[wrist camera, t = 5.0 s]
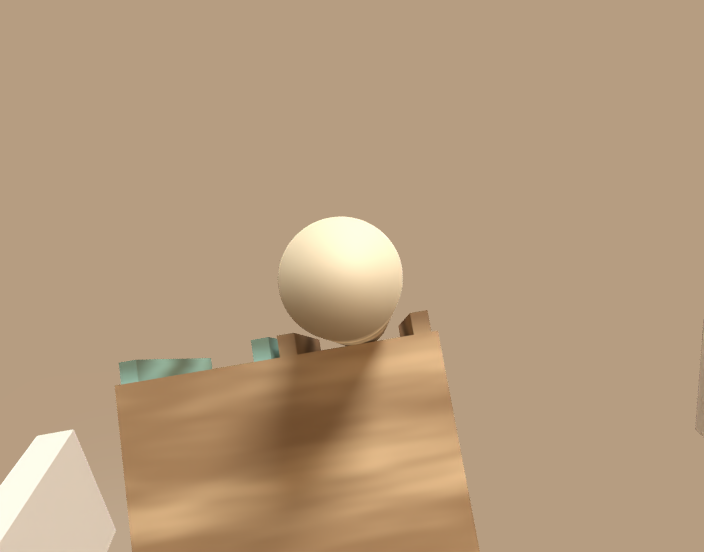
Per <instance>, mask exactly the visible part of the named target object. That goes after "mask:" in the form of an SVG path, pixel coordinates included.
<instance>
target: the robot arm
mask: <svg viewBox="0 0 704 552" xmlns="http://www.w3.org/2000/svg"><path fill="white" fill-rule="evenodd" d="M695 429H696V430H697V431H698V432H699V433H700V434H701V435H702V436H703V437H704V322H703V334H702V348H701V362H700V374H699V389H698V401H697V415H696V428H695ZM115 531H116V529H115V527H114V524H113V522H112V520H111V517H110V515H109V513H108V510H107V508H106V506H105V503H104V500H103V498H102V496H101V493H100V491H99V489H98V486H97V484H96V482H95V479H94V477H93V474H92V472H91V469H90V467H89V465H88V463H87V460H86V458H85V455H84V453H83V450H82V448H81V446H80V443H79V441H78V439H77V436H76V434H75V431H74V430H68V431H62V432H57V433H51V434H46V435H39V436H37V437H36V438H35V439H34V441H33V442H32V443H31V445H30V446H29V448H28V449H27V451H26V452H25V453H24V454H23V456H22V457H21V458H20V460H19V461H18V462H17V464H16V465H15V467H14V468H13V469H12V470H11V472H10V473H9V475H8V476H7V477H6V479H5V480H4V481H3V483H2V484H1V485H0V552H107V550H108V548H109V546H110V543H111V541H112V538H113V536H114V534H115Z"/></svg>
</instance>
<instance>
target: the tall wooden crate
mask: <svg viewBox="0 0 704 552" xmlns="http://www.w3.org/2000/svg"><path fill="white" fill-rule="evenodd" d="M399 332H400V337H398V338H392V339H386V340H380V341H374V342H368V343H363V344H357V345H351V346H345V347H339V348H333V349H327V350H322V351H321V349H320V342H319V340H318V339H314V338H311V337H307V336H303V335H300V334H296V333H291V334H285V335H279V336H277V339H275V338H269V337H267V338H261V339H255V340H251V343H252V350H253V357H254V362H251V363H245V364H239V365H233V366H227V367H221V368H216V369H212V363H211V358H202V359H201V358H199V359H154V360H132V361H127V362H121V363H119V368H120V378H121V385H116V386H115V392H116V401H117V411H118V420H119V430H120V439H121V449H122V459H123V468H124V478H125V486H126V487H125V488H126V497H127V506H128V516H129V526H130V535H131V545H132V552H480V551H479V546H478V540H477V535H476V529H475V524H474V519H473V514H472V509H471V503H470V498H469V492H468V487H467V483H466V477H465V471H464V466H463V461H462V456H461V450H460V446H459V440H458V435H457V429H456V424H455V419H454V413H453V408H452V403H451V398H450V392H449V387H448V382H447V377H446V371H445V366H444V361H443V355H442V350H441V345H440V340H439V334H438V331H433V332H431V327H430V322H429V317H428V311H427V310H426V311H419V312H414V313H410V314H409V315H408V316H407V317H406V318H405V319H404V321H403V322H402V323H401V324H400V325H399Z"/></svg>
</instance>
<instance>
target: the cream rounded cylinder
mask: <svg viewBox="0 0 704 552" xmlns="http://www.w3.org/2000/svg"><path fill="white" fill-rule="evenodd" d="M402 284H403V273H402V266H401V261H400V258H399V256H398V253H397V251H396V249H395V247H394V246H393V244H392V243H391V241H390V240H389V239H388V238H387V237H386V235H385V234H383V233H382V232H381V231H380V230H379V229H377V228H376V227H374V226H373V225H371V224H369V223H367V222H365V221H362V220H359V219H356V218H351V217H331V218H326V219H323V220H320V221H317V222H315V223H313V224H310V225H309V226H307V227H306V228H304V229H303V230H302V231H300V232H299V233H298V234H297V235H296V236H295V237H294V238H293V239H292V241H291V242H290V243H289V245H288V246H287V248H286V250H285V252H284V254H283V256H282V259H281V262H280V266H279V273H278V287H279V293H280V296H281V300H282V302H283V304H284V307H285V309H286V310H287V312H288V313H289V315H290V316H291V317H292V319H293V320H294V321H295V322H296V323H297V324H298V325H299V326H300V327H302V328H303V329H305V330H306V331H308V332H309V333H311V334H313V335H315V336H318V337H321V338H323V339H326V340H330V341H333V342H336V343H339V344H342V345H345V346H351V345H357V344H363V343H368V342H374V341H377V340H378V339H379V338H380V337H381V336H382V334H383V333H384V331H385V329H386V327H387V325H388V323H389V320H390V318H391V316H392V314H393V312H394V310H395V308H396V305H397V303H398V301H399V298H400V295H401V290H402Z"/></svg>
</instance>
